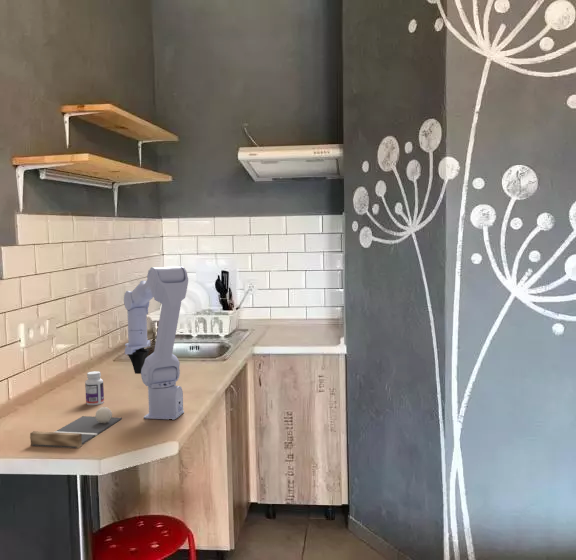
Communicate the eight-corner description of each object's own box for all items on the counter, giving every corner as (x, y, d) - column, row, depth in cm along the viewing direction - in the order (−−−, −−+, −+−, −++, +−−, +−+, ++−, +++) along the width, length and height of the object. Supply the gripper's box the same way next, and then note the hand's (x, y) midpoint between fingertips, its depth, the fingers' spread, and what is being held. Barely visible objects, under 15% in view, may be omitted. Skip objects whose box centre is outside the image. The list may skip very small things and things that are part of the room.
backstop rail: (81, 446, 160) (81, 433, 159) (78, 448, 158) (78, 435, 158) (34, 443, 162) (33, 431, 162) (30, 445, 161) (30, 433, 160)
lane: (121, 419, 183) (121, 417, 183) (76, 448, 158) (76, 446, 158) (82, 417, 185) (82, 416, 185) (32, 445, 161) (32, 444, 161)
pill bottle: (97, 400, 204) (96, 370, 204) (107, 402, 201) (106, 372, 200) (82, 403, 200) (81, 373, 199) (92, 406, 197) (91, 375, 196)
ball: (96, 427, 177) (112, 425, 178) (92, 417, 175) (108, 416, 175) (98, 414, 181) (114, 412, 181) (95, 404, 178) (111, 403, 178)
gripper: (135, 326, 206) (136, 368, 207) (114, 333, 192) (116, 378, 193) (156, 326, 205) (157, 368, 206) (137, 333, 190) (138, 378, 191)
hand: (138, 373), depth 199 cm, fingers closed
